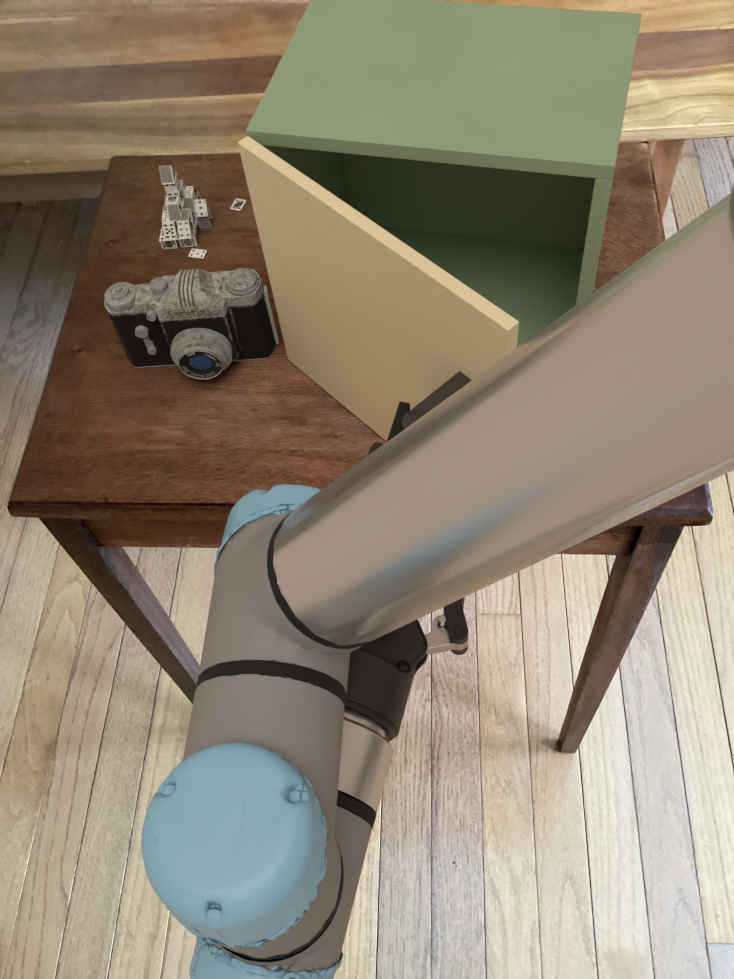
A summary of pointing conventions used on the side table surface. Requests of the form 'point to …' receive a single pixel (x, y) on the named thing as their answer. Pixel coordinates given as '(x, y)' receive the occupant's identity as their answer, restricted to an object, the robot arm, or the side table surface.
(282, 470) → the side table surface
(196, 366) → the camera
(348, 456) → the side table surface
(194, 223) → the house of cards
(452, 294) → the cupboard door
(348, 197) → the cupboard
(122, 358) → the side table surface
